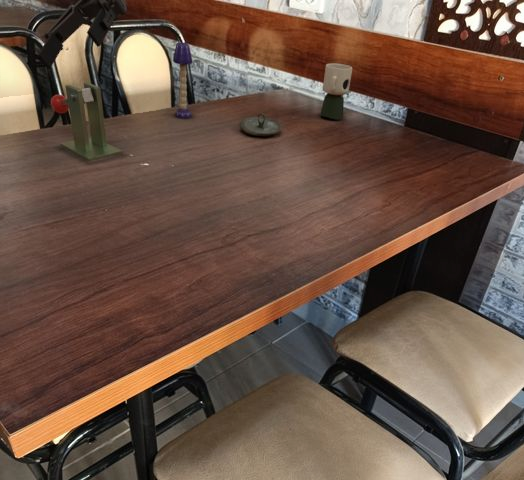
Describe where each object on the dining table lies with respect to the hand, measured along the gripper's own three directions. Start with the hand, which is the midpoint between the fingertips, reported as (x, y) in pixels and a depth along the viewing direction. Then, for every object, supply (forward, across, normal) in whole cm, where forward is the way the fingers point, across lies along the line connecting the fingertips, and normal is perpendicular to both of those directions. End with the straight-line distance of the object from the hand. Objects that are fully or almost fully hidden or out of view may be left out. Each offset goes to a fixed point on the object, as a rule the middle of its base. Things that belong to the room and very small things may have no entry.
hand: (67, 51), depth 93 cm
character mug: (-41, -23, -58) cm, 74 cm away
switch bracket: (+6, +8, -17) cm, 19 cm away
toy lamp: (-24, +6, -34) cm, 42 cm away
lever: (+1, +9, -10) cm, 13 cm away
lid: (-21, -13, -42) cm, 49 cm away
